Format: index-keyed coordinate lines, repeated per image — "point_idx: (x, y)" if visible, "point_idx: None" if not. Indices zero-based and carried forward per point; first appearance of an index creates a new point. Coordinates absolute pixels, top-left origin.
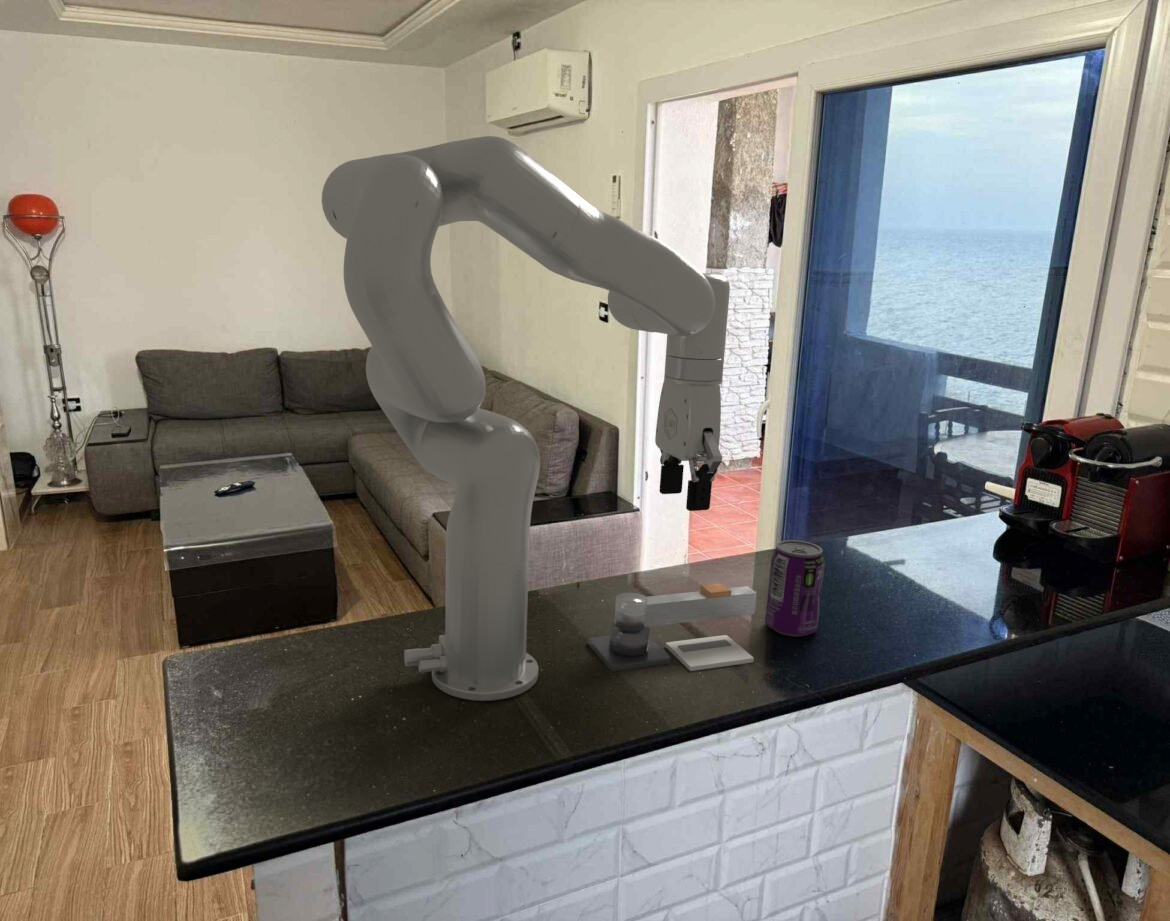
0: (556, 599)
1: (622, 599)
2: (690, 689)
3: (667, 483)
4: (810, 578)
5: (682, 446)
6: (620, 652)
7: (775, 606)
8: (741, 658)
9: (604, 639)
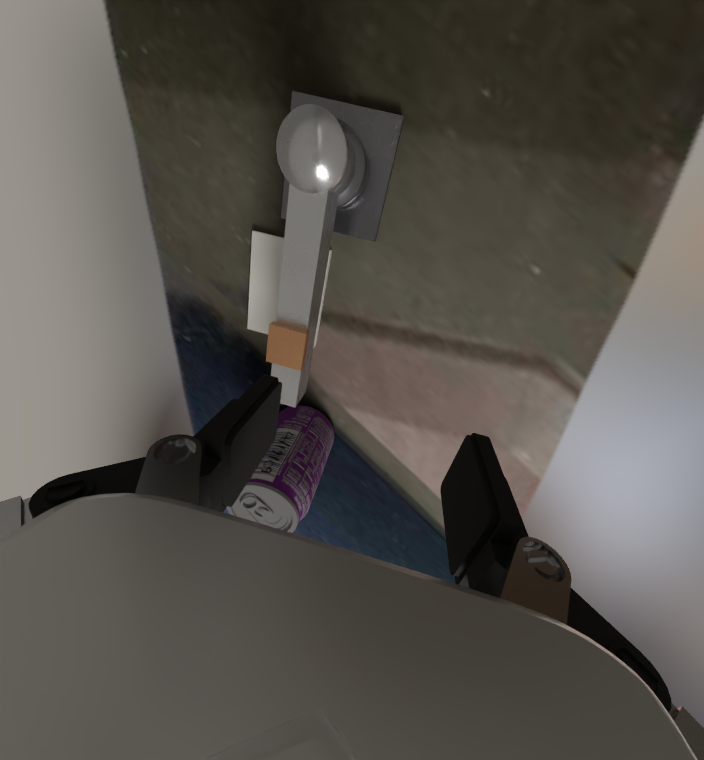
0: (612, 181)
1: (314, 122)
2: (211, 192)
3: (467, 472)
4: None
5: (15, 602)
6: None
7: (290, 422)
8: (250, 313)
9: (382, 146)
